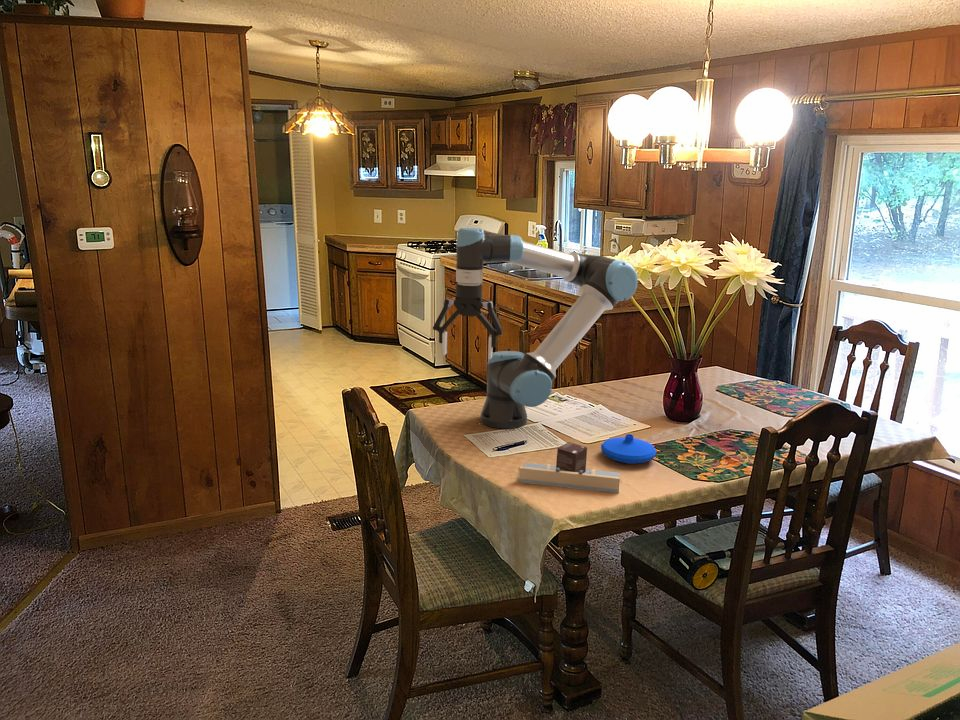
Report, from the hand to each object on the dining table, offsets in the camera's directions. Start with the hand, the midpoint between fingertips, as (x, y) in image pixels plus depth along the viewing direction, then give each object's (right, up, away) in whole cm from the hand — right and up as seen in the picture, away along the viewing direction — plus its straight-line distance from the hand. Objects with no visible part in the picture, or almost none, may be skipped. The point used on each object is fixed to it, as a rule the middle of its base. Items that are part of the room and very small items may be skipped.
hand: (467, 356), depth 218 cm
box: (+28, -32, -15) cm, 45 cm away
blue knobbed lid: (+46, -30, -1) cm, 55 cm away
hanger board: (+28, -33, -17) cm, 46 cm away
